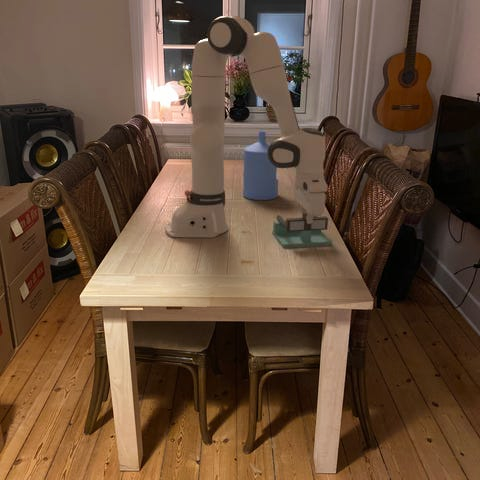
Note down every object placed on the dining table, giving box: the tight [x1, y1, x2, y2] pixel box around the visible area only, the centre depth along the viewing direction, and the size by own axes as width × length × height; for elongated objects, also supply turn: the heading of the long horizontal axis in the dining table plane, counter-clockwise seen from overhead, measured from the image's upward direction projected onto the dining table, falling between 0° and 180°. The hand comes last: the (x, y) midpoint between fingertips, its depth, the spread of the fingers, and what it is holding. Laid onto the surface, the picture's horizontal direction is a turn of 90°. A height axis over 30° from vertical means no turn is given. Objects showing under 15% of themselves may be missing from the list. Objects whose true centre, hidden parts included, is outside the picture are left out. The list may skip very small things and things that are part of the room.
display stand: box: [271, 220, 333, 249], centre depth 174 cm, size 17×14×5 cm
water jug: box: [242, 131, 279, 201], centre depth 220 cm, size 16×16×28 cm
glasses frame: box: [276, 214, 329, 232], centre depth 174 cm, size 14×13×4 cm
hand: (306, 220), depth 168 cm, fingers open, 3 cm apart
